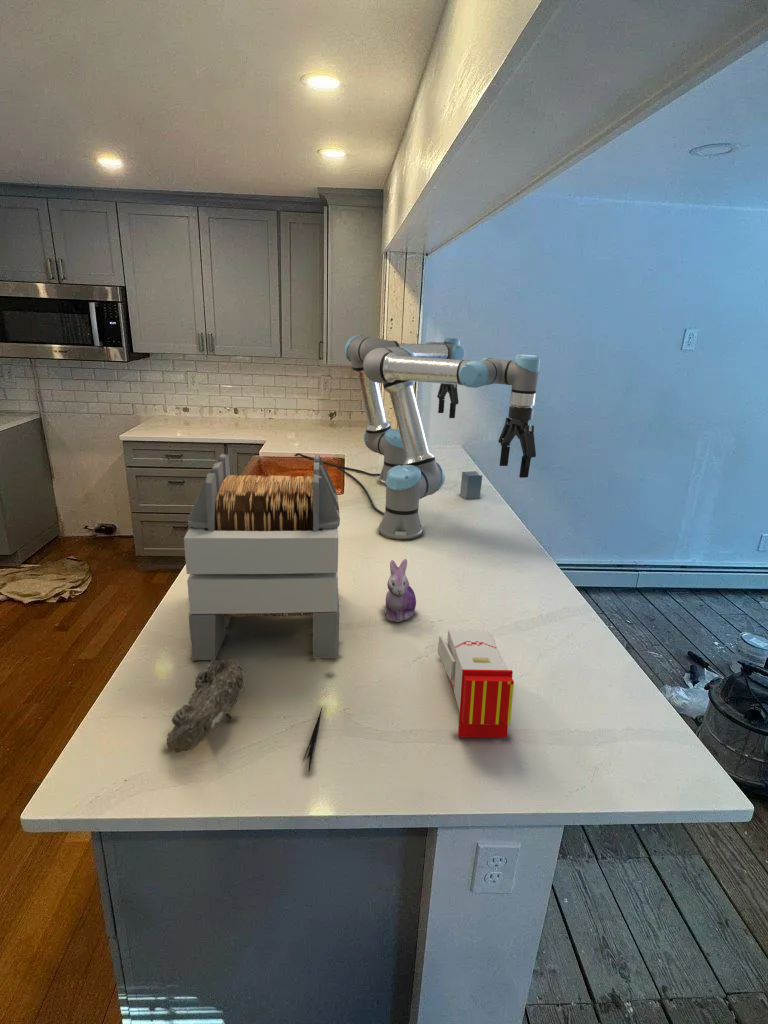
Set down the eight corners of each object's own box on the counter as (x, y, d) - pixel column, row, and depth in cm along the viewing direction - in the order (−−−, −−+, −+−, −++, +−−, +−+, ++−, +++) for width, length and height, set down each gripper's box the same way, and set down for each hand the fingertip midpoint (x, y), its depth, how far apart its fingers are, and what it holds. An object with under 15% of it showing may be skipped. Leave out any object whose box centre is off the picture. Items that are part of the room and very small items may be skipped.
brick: (479, 498, 242) (482, 475, 238) (466, 499, 240) (468, 475, 236) (473, 494, 247) (475, 471, 244) (459, 494, 245) (462, 471, 242)
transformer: (215, 589, 155) (206, 444, 141) (335, 588, 159) (337, 446, 145) (189, 663, 124) (173, 484, 110) (339, 659, 127) (342, 486, 113)
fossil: (192, 660, 117) (244, 628, 112) (224, 691, 120) (276, 661, 115) (142, 746, 98) (202, 712, 93) (182, 779, 101) (242, 748, 96)
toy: (488, 613, 130) (523, 677, 101) (484, 667, 133) (517, 744, 104) (435, 612, 130) (455, 676, 101) (432, 666, 133) (451, 743, 103)
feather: (331, 679, 122) (336, 673, 122) (307, 777, 96) (313, 769, 95) (324, 675, 122) (329, 669, 121) (298, 772, 95) (304, 764, 95)
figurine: (392, 627, 141) (395, 572, 136) (374, 608, 149) (376, 556, 144) (425, 619, 145) (429, 566, 140) (405, 601, 154) (408, 550, 149)
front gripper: (553, 413, 167) (543, 482, 175) (513, 399, 190) (505, 460, 197) (531, 413, 165) (521, 482, 173) (493, 399, 188) (486, 461, 195)
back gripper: (468, 374, 263) (464, 420, 270) (446, 368, 285) (443, 410, 292) (453, 374, 261) (449, 420, 268) (432, 368, 283) (429, 411, 290)
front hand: (513, 471), depth 185 cm, fingers open, 13 cm apart
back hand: (446, 415), depth 280 cm, fingers open, 13 cm apart
